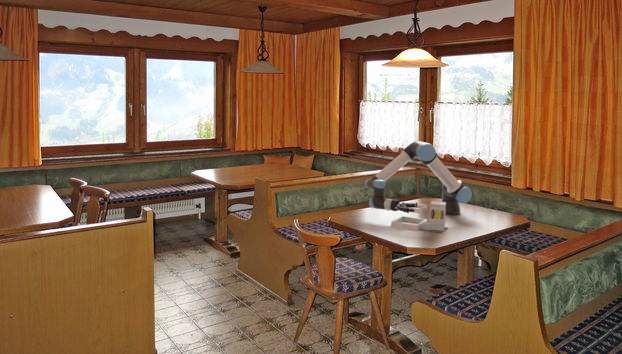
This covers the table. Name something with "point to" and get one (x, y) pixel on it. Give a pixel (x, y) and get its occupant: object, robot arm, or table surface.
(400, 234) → the table surface
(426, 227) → the charcoal mat
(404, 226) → the beige square tray
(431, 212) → the supplement box
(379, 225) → the table surface
